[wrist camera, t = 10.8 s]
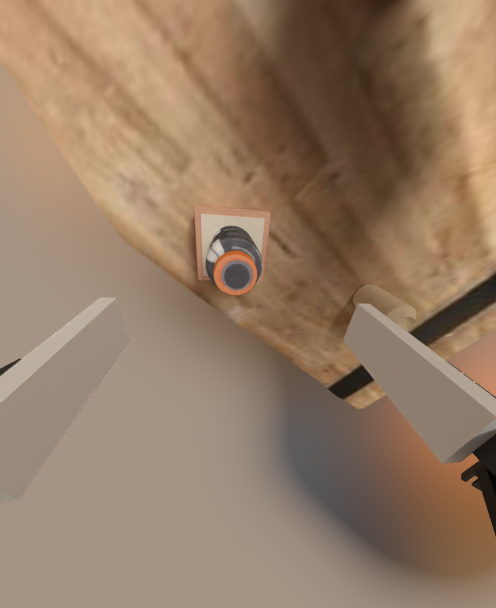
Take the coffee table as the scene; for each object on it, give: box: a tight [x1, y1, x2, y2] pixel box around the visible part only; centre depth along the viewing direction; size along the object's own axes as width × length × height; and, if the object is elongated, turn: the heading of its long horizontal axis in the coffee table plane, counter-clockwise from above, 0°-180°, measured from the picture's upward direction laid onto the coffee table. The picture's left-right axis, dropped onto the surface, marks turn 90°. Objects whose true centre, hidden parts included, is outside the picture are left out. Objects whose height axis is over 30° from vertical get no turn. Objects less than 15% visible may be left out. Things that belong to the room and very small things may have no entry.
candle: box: [352, 284, 416, 331], centre depth 34 cm, size 6×6×10 cm
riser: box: [194, 205, 271, 282], centre depth 29 cm, size 10×10×4 cm
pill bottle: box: [206, 226, 263, 296], centre depth 22 cm, size 6×6×11 cm
